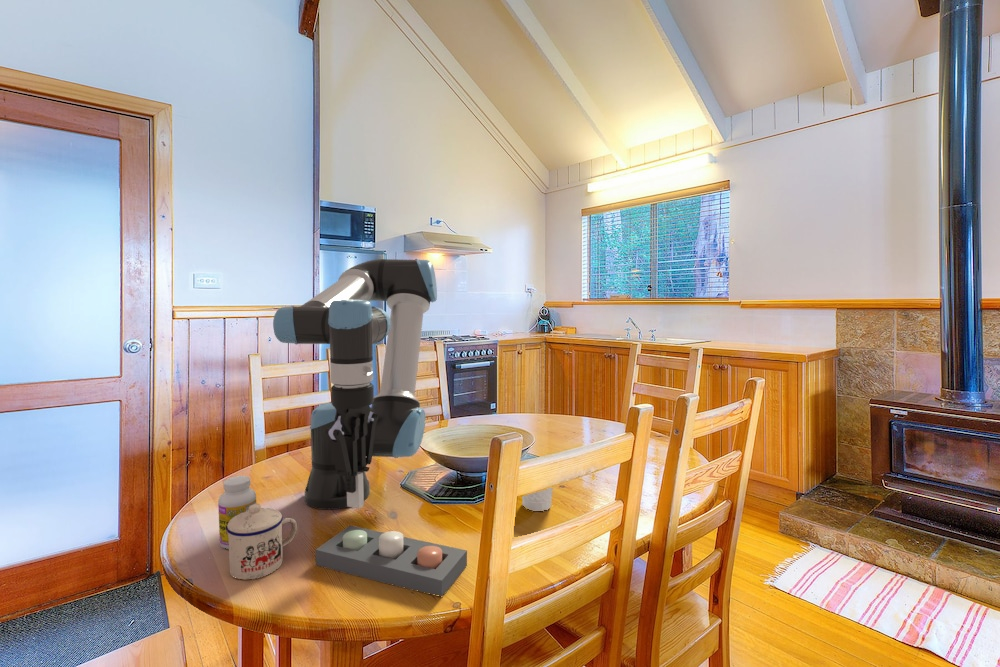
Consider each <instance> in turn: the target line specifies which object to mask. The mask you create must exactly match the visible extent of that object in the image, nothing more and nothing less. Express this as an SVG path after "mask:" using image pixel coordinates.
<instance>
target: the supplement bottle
mask: <svg viewBox="0 0 1000 667" xmlns="http://www.w3.org/2000/svg"><path fill="white" fill-rule="evenodd" d="M222 483H223V485H222V487H223V490H224V492H223V493H221V495H220V496H219V498H218V501H217V502H218V504H217V505H218V526H219V527H218V528H219V529H218V531H219V545H220V547H222V548H223V549H225V548H226V549H225V550H229V536H228V531H227V525H228V523H229V521H230V520H231V519H232V518H233V517H235V516H236V515H238V514H240V513H243V512H245V511H247V510H249V507H250V506H251V505H253V504H257V493H256V490H254V489H252V488H250V485H251V478H250V476H249V475H248V476H247V475H237V476H232V477H229V478H227V479H225V480H224V481H223V482H222Z"/></svg>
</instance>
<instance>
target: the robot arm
mask: <svg viewBox="0 0 1000 667" xmlns="http://www.w3.org/2000/svg"><path fill="white" fill-rule="evenodd" d="M337 279H338V280H337V281H336V282H334V283H333V284H331V285H330V286H328V287H326V288H325V289H324V290H322V291H321V292H319V293H317V294H316V295H315V296H314V297H312V298H311V299H309V300H308V301H307V302H305V303H303V304H302V305H299V306H294V305H290V306H282V307H279V308H278V309H277V310H276V311H275V313H274V316H273V322H272V327H273V328H272V329H273V333H274V337H275V338H276V339H277V340H278V341H279V342H280V343H282V344H295V345H299V344H300V345H329V354H330V355H329V356H330V358H329V359H330V360H329V367H330V368H329V370H330V371H329V372H330V373H329V374H330V375H329V378H330V380H329V381H330V383H331V384H332V386H331V388H330V395H331V396H330V398H331V399H330V400H331V402H329V403H324V404H321V405H319V406H317V407H316V408H314V409H313V410H312V412H311V415H310V426H309V429H310V449H311V450H310V451H311V470H310V473H309V476H308V480H307V483H306V486H305V489H304V503H305V504H306V505H307V506H309V507H311V508H314V509H319V510H337V509H343V508H353V509H357V510H359V509H361V508H362V507H364V506H365V500H366V499H367V498H368V497H369V495H370V494H371V493H370V491H371V489H370V486H371V485H370V482H369V480H368V477H367V475H366V473H367V472H369V470H370V467H368V466H367V465H371V463H372V460H373V457H375V458H376V457H380V458H384V457H385V458H395V459H398V458H409V457H413V456H414V455H415V454H416V453H418V450H419V449H420V447H421V446H422V445H421V444H422V441H423V438H424V434H425V429H426V428H425V427H426V411H425V409H424V408H422V407H420V406H421V402H420V401H419V399H418V398H417V397H416V396H415V395H416V388H417V387H416V385H417V376H418V367H419V358H420V346H421V340H422V339H421V338H422V330H423V329H422V327H423V320H424V319H423V318H424V314H425V313H426V312H428V311H429V310H430V305H431V303H434V302H436V301H437V299H438V289H437V288H438V286H437V279H436V273H435V267H434V265H433V263H432V261H430V260H428V259H417V258H415V259H396V258H395V259H394V258H393V259H392V258H391V259H389V258H388V259H385V258H383V259H382V258H377V259H372V260H366V261H364V262H361V263H357V264H356V265H354V266H352V267H350V268H348V269H347V270H344V271H343V272H342V273H341V274H340V275H339V277H338V278H337ZM370 301H372V302H373V301H375V302H377V301H379V302H381V301H382V302H386V305H387V307H388V308H389V309H390V316H389V314H388V313H387V311H385V310H384V309H383V308H381V307H378V306H373V305H372V303H371V302H370ZM386 337H387V338H386ZM385 338H386V345H385V353H384V359H383V367H382V368H383V369H382V375H381V383H380V389H379V393H378V394H377V395H375V392H374V391H375V389H374V388H375V387H374V385H373V383H372V381H374V366H373V365H374V364H373V360H374V356H373V355H374V353H373V352H374V350H373V347H374V346H373V345H374V344H375V345H376V344H378V343H380V342H383V340H384V339H385Z"/></svg>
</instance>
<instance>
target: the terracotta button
mask: <svg viewBox="0 0 1000 667" xmlns="http://www.w3.org/2000/svg"><path fill="white" fill-rule="evenodd" d="M441 563H442V549H441V548H439V547H437V546H425V547H422V548H421V549H419V550H418V552H417V565H420V566H424V567H428V568H432V569H436V568H437V567H438V566H439V565H440V564H441Z"/></svg>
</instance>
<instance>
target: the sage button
mask: <svg viewBox="0 0 1000 667" xmlns="http://www.w3.org/2000/svg"><path fill="white" fill-rule="evenodd" d="M366 544H367V533H366V532H365V531H363V530H353V531H349V532H347V533H345V534H344V535H343V548H347V549H352V550H356V551H358V550H360V549H361V548H362V547H364V546H365V545H366Z"/></svg>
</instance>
